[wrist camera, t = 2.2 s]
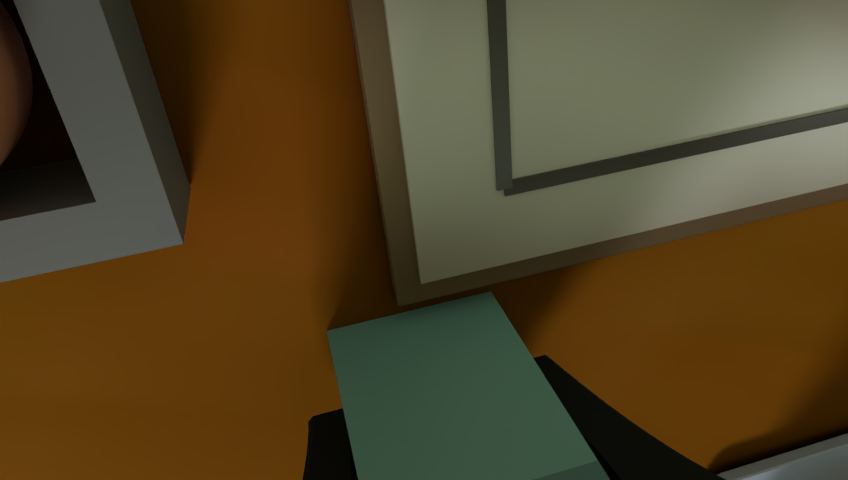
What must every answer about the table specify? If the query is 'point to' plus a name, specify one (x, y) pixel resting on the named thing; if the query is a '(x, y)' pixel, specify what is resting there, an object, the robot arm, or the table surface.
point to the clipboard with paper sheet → (592, 126)
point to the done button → (13, 85)
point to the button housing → (94, 148)
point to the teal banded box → (453, 399)
